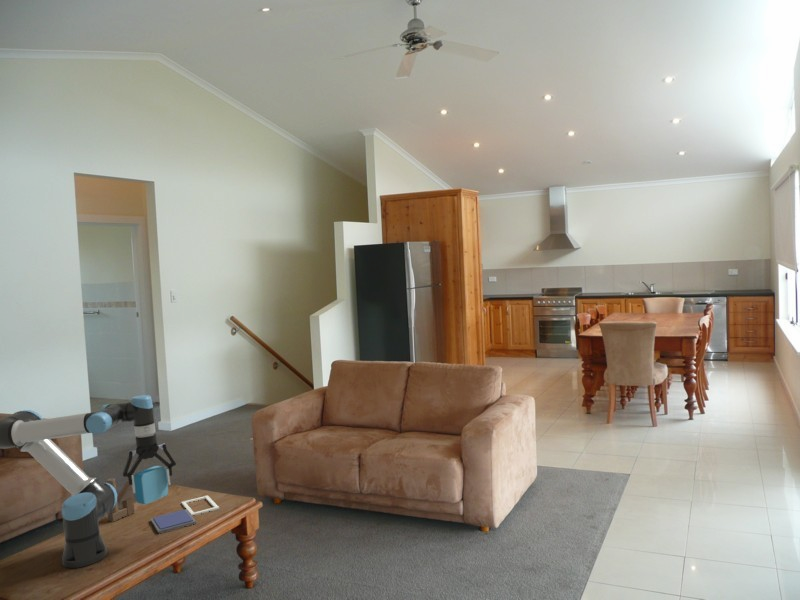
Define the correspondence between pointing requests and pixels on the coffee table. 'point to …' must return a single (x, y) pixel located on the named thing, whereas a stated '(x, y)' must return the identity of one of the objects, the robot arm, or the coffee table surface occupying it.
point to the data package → (151, 484)
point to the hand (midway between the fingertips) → (151, 488)
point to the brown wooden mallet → (126, 500)
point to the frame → (202, 510)
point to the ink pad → (172, 521)
